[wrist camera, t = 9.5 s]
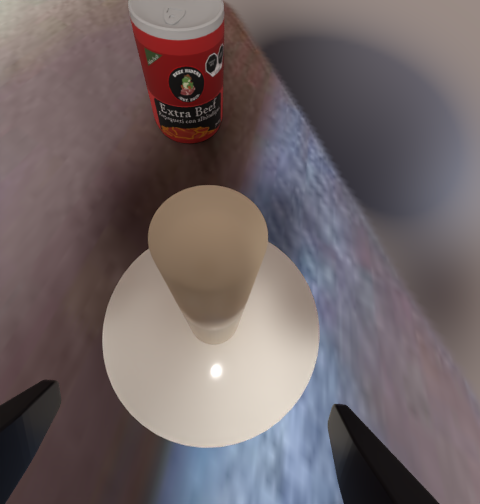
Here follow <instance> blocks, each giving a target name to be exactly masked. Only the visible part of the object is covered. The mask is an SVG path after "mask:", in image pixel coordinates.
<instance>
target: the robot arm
mask: <svg viewBox="0 0 480 504" xmlns="http://www.w3.org/2000/svg"><path fill="white" fill-rule="evenodd" d="M60 404H61V395H60V388H59V383H58V381H56V380H43V381H41V382H39V383H37V384H35V385H34V386H32V387H30V388H29V389H27V390H25V391H24V392H22V393H20V394H19V395H17V396H15V397H14V398H12V399H10V400H9V401H7V402H5V403H4V404H2V405H0V504H5V503H6V501H7V500H8V498H9V496H10V495H11V493H12V492H13V490H14V489H15V487H16V485H17V484H18V482H19V481H20V479H21V477H22V476H23V474H24V473H25V471H26V469H27V468H28V466H29V464H30V463H31V461H32V459H33V457H34V456H35V454H36V452H37V450H38V448H39V446H40V444H41V442H42V440H43V438H44V436H45V434H46V433H47V431H48V429H49V427H50V425H51V423H52V421H53V419H54V417H55V415H56V413H57V411H58V409H59V407H60ZM328 432H329V437H330V443H331V448H332V453H333V459H334V464H335V469H336V474H337V479H338V484H339V488H340V492H341V495H342V499H343V502H344V504H439V503H438V502H437V500H436V499H435V498H434V497H433V496H432V495H431V494H430V493H429V492H428V491H427V490H426V489H425V488H424V487H423V486H422V485H421V483H420V482H419V481H418V480H417V479H416V478H415V477H414V476H413V475H412V474H411V473H410V472H409V471H408V470H407V469H406V468H405V467H404V465H403V464H402V463H401V462H400V461H399V460H398V459H397V458H396V457H395V456H394V455H393V454H392V453H391V452H390V451H389V450H388V448H387V447H386V446H385V445H384V444H383V443H382V442H381V441H380V440H379V439H378V438H377V437H376V436H375V435H374V434H373V433H372V432H371V430H370V429H369V428H368V427H367V426H366V425H365V424H364V423H363V422H362V421H361V420H360V419H359V418H358V417H357V416H356V415H355V413H354V412H353V411H352V410H351V409H350V408H349V407H348V406H346V405H344V404H334V405H333V406H332V409H331V413H330V416H329V420H328Z"/></svg>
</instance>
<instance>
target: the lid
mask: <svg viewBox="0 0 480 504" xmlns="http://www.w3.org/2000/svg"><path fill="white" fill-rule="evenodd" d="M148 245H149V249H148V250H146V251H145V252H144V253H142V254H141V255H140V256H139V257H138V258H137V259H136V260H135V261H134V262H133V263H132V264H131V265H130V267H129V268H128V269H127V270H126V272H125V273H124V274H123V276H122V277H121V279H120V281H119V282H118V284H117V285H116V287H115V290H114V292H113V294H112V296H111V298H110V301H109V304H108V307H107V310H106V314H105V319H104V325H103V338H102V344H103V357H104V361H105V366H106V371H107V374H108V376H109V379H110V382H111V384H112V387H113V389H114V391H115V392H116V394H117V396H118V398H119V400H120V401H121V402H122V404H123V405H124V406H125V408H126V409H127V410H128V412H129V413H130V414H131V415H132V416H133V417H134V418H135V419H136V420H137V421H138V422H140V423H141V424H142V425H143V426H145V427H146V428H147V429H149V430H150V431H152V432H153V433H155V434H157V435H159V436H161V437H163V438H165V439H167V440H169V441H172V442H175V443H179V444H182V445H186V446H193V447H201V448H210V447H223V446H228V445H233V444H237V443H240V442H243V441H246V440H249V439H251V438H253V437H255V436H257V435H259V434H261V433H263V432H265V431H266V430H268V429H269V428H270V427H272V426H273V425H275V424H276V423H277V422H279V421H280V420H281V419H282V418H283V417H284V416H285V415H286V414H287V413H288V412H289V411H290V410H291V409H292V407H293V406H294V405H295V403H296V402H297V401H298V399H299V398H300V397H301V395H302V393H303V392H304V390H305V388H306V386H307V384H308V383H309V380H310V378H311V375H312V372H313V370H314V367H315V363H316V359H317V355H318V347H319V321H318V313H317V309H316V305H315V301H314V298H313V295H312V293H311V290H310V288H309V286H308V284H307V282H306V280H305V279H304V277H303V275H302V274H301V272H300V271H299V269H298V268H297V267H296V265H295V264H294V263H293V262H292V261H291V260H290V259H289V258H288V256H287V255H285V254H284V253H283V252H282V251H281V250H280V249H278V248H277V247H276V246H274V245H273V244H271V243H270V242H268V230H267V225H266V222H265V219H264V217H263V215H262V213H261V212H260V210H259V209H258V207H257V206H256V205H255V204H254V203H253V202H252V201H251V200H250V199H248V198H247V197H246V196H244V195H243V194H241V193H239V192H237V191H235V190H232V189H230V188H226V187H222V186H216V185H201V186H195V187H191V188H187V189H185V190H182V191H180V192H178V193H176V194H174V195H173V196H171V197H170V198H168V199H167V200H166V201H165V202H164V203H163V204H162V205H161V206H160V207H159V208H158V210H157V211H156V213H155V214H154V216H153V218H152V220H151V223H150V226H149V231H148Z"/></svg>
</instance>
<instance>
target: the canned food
mask: <svg viewBox="0 0 480 504" xmlns="http://www.w3.org/2000/svg"><path fill="white" fill-rule="evenodd" d="M128 7H129V12H130V19H131V23H132V27H133V33H134V37H135V41H136V45H137V49H138V53H139V57H140V61H141V65H142V69H143V73H144V77H145V81H146V85H147V89H148V93H149V97H150V101H151V105H152V109H153V113H154V117H155V120H156V123H157V125H158V126H159V128H160V130H161V131H162V132H163V134H165V135H166V136H167V137H168V138H170V139H172V140H174V141H177V142H181V143H198V142H201V141H204V140H206V139H208V138H210V137H211V136H213V135H214V134H215V133H216V132H217V130H218V128H219V126H220V123H221V120H222V113H223V65H224V4H223V1H222V0H129V1H128Z"/></svg>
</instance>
